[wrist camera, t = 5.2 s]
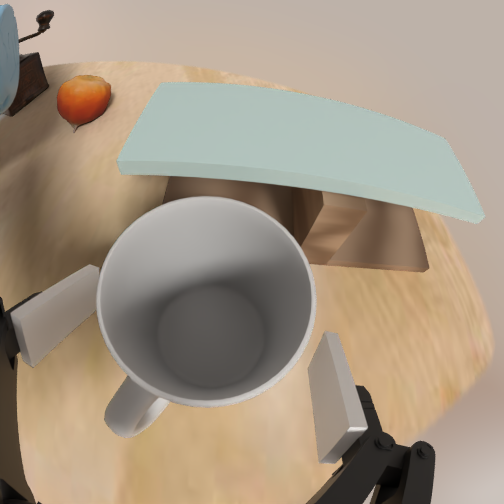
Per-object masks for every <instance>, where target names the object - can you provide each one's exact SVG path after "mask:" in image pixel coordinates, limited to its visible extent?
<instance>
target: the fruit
mask: <svg viewBox="0 0 504 504" xmlns="http://www.w3.org/2000/svg"><path fill="white" fill-rule="evenodd" d="M110 96H111V85H110V84H109V83H107V82H105V81H104V79H103V78H101V77H98V76H92V75H84V76H76V77H74V78H73V79H71V80H69V81H67V82H65V83H64V84H63V85H62V86H61V87H60V89H59V92H58V95H57V107H58V112H59V113H60V115H61V116H62V118H64V119H65V120H67V121H68V122H69V123H70V124H71V125H72V126H73V128H74V131H73V133H75V130H76V128H77V127H78V126H79V125H81V124H84V123H87V122H90V121H92V120H94V119H95V118H97V117H99V116H101V115H102V114H103V113H104V111H105V109H106V107H107V105H108V102H109V99H110Z"/></svg>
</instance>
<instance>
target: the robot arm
mask: <svg viewBox="0 0 504 504" xmlns="http://www.w3.org/2000/svg"><path fill="white" fill-rule="evenodd" d="M18 82H19V41H18V30H17V23H16V19H15V17H14V11H13V9H12V7H11V6H10V5H8V4H5V5H0V115H1V114H2V113H4V112H5V111H6V110H7V109H8V108H9V107H10V105H11V104H12V102H13V100H14V98H15V96H16V92H17V88H18ZM98 280H99V267H96V266H93V265H91V264H89V265H87V266H85V267H83V268H82V269H80V270H78V271H77V272H75V273H73V274H71V275H70V276H68V277H66V278H65V279H63V280H61V281H60V282H58V283H56V284H55V285H53V286H51V287H50V288H48V289H47V290H45V291H43V292H42V291H41V292H38V293H35V294H32V295H31V296H29V297H28V298H27V299H24V300H23V301H22V302H20V303H18V304H17V305H15V306H14V307H12V308H11V309H9V310H8V311H6V312H5V310H4V305H3V300H2V298H1V297H0V504H36V502H35V499H34V496H33V494H32V492H31V490H30V488H29V486H28V484H27V482H26V479H25V475H24V470H23V464H22V458H21V451H20V444H19V434H18V422H17V364H18V359H17V354H18V353H19V352H21V355H22V359H23V361H24V362H26V363H27V364H28V365H30V366H31V367H33V368H34V367H35V366H36V365H37V364H38V363H39V362H40V361H41V360H42V359H43V358H44V357H45V356H46V355H47V354H48V353H49V352H50V351H51V350H53V349H54V348H55V347H56V346H57V345H58V344H59V343H60V342H61V341H62V340H63V339H64V338H66V337H67V336H68V335H69V334H70V333H71V332H72V331H73V330H74V329H76V328H77V327H78V326H79V325H80V324H81V323H82V322H83V321H85V320H86V319H87V318H88V317H89V316H90V315H92V314H93V313H94V312H95V311H96V310H97V308H96V293H97V285H98ZM308 375H309V382H310V390H311V398H312V406H313V414H314V423H315V432H316V441H317V451H318V461H319V463H332V464H335V463H336V462H337V461H338V460H339V459H340V458H341V457H342V461H343V464H342V465H341V466H340V467H339V468H338V469H337V470H336V471H335V472H334V473H333V474H332V475H333V476H332V477H331V478H330V479H329V480H328V481H327V482H326V483H325V484H324V486H323V487H322V488H321V489H320V490H319V491H318V492H317V493H316V494H315V495H314V496H313V497H312V498H311V499H310V500H309V501H308V502H307V503H306V504H363V502H364V501H365V500H366V498H367V497H368V495H369V494H370V492H371V491H372V489H373V488H374V486H375V485H376V486H375V489H374V493H373V496H372V498H371V502H370V504H430V503H431V496H432V489H433V479H434V469H435V451H434V449H433V447H432V446H431V445H430V444H428V443H427V442H424V441H418V442H416V443H414V444H413V445H412V446H411V447H406V446H402V445H397V444H396V443H395V440H394V439H393V437H391V436H390V435H389V434H387V433H385V432H383V431H382V428H381V425H380V422H379V419H378V416H377V413H376V410H375V407H374V404H373V403H372V402H373V401H372V399H371V396H370V393H369V392H368V391H367V390H366V388H365V387H364V386H357V385H355V383H354V380H353V377H352V374H351V371H350V368H349V365H348V362H347V359H346V356H345V353H344V350H343V347H342V345H341V342H340V339H339V336H338V333H333V332H328V331H325V332H324V334H323V336H322V339H321V341H320V343H319V345H318V348H317V350H316V352H315V354H314V356H313V358H312V360H311V363H310V365H309V367H308ZM37 504H41V503H40V502H38V503H37Z"/></svg>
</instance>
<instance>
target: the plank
mask: <svg viewBox="0 0 504 504" xmlns="http://www.w3.org/2000/svg"><path fill="white" fill-rule="evenodd" d="M117 164H118V167H119V170H120V173H121V175H163V176H184V177H201V178H215V179H227V180H239V181H249V182H259V183H268V184H276V185H284V186H292V187H300V188H307V189H314V190H321V191H327V192H334V193H340V194H346V195H352V196H357V197H363V198H368V199H374V200H379V201H384V202H389V203H394V204H398V205H403V206H408V207H412V208H417V209H421V210H425V211H429V212H434V213H438V214H442V215H446V216H450V217H453V218H457V219H461V220H465V221H468V222H472V223H475V224H478V223H479V222H480V221H481V220H482V219H484V218H485V215H484V212H483V210H482V208H481V205H480V203H479V201H478V198H477V196H476V194H475V192H474V190H473V188H472V186H471V184H470V182H469V180H468V178H467V176H466V174H465V172H464V170H463V168H462V166H461V165H460V163H459V161H458V159H457V158H456V156H455V154H454V152H453V151H452V149H451V147H450V146H449V144H448V142H447V141H446V139H445V138H443V137H440V136H438V135H436V134H434V133H431V132H429V131H427V130H424V129H421V128H419V127H417V126H414V125H412V124H409V123H406V122H404V121H401V120H398V119H395V118H393V117H390V116H386V115H383V114H381V113H378V112H374V111H371V110H368V109H365V108H361V107H358V106H354V105H350V104H346V103H343V102H339V101H335V100H331V99H326V98H322V97H317V96H312V95H307V94H302V93H297V92H291V91H285V90H279V89H272V88H264V87H256V86H247V85H236V84H222V83H198V82H168V83H161V84H160V85H159V87H158V88H157V90H156V91H155V93H154V94H153V96H152V97H151V99H150V101H149V102H148V104H147V106H146V107H145V109H144V111H143V112H142V114H141V116H140V117H139V119H138V121H137V123H136V124H135V126H134V128H133V130H132V132H131V133H130V135H129V137H128V139H127V141H126V143H125V145H124V147H123V149H122V151H121V153H120V155H119V157H118V159H117Z"/></svg>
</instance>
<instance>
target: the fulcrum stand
mask: <svg viewBox="0 0 504 504" xmlns="http://www.w3.org/2000/svg"><path fill="white" fill-rule="evenodd" d="M199 196H213V197H222V198H229V199H233V200H237V201H240V202H244V203H246V204H249V205H251V206H254V207H256V208H258V209H259V210H261V211H263V212H265V213H267V214H268V215H269V216H271V217H272V218H274V219H275V220H277V221H278V222H279V223H280V224H281V225H282V226H283V227H285V228H286V229H287V230H288V232H289V233H290V234H291V235H292V236H293V237H294V238H295V240H296V241H297V243H298V244H299V246H300V247H301V248H302V250H303V252H304V254H305V256H306V258H307V260H308V262H309V264H319V265H332V266H345V267H358V268H372V269H385V270H399V271H414V272H425V271H426V270H428V269H429V264H428V260H427V256H426V252H425V248H424V244H423V241H422V237H421V234H420V230H419V227H418V223H417V220H416V217H415V214H414V211H413V208H412V207H408V206H403V205H398V204H394V203H389V202H384V201H379V200H374V199H368V198H363V197H357V196H352V195H346V194H340V193H334V192H327V191H321V190H314V189H307V188H300V187H292V186H284V185H276V184H268V183H259V182H249V181H239V180H227V179H215V178H201V177H184V176H170V179H169V182H168V186H167V189H166V193H165V196H164V200H163V204H166V203H168V202H171V201H175V200H178V199H183V198H189V197H199ZM163 204H162V205H163Z"/></svg>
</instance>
